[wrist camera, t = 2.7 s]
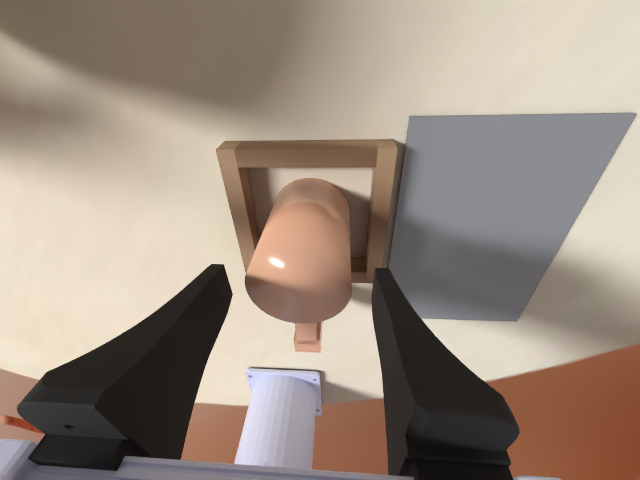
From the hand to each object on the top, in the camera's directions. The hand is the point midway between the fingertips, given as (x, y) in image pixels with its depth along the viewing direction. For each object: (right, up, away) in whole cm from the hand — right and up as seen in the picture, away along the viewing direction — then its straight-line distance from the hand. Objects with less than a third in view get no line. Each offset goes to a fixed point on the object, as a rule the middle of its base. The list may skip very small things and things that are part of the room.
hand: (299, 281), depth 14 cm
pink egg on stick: (0, +2, +7) cm, 7 cm away
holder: (0, +4, +5) cm, 7 cm away
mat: (+11, +2, +6) cm, 13 cm away
